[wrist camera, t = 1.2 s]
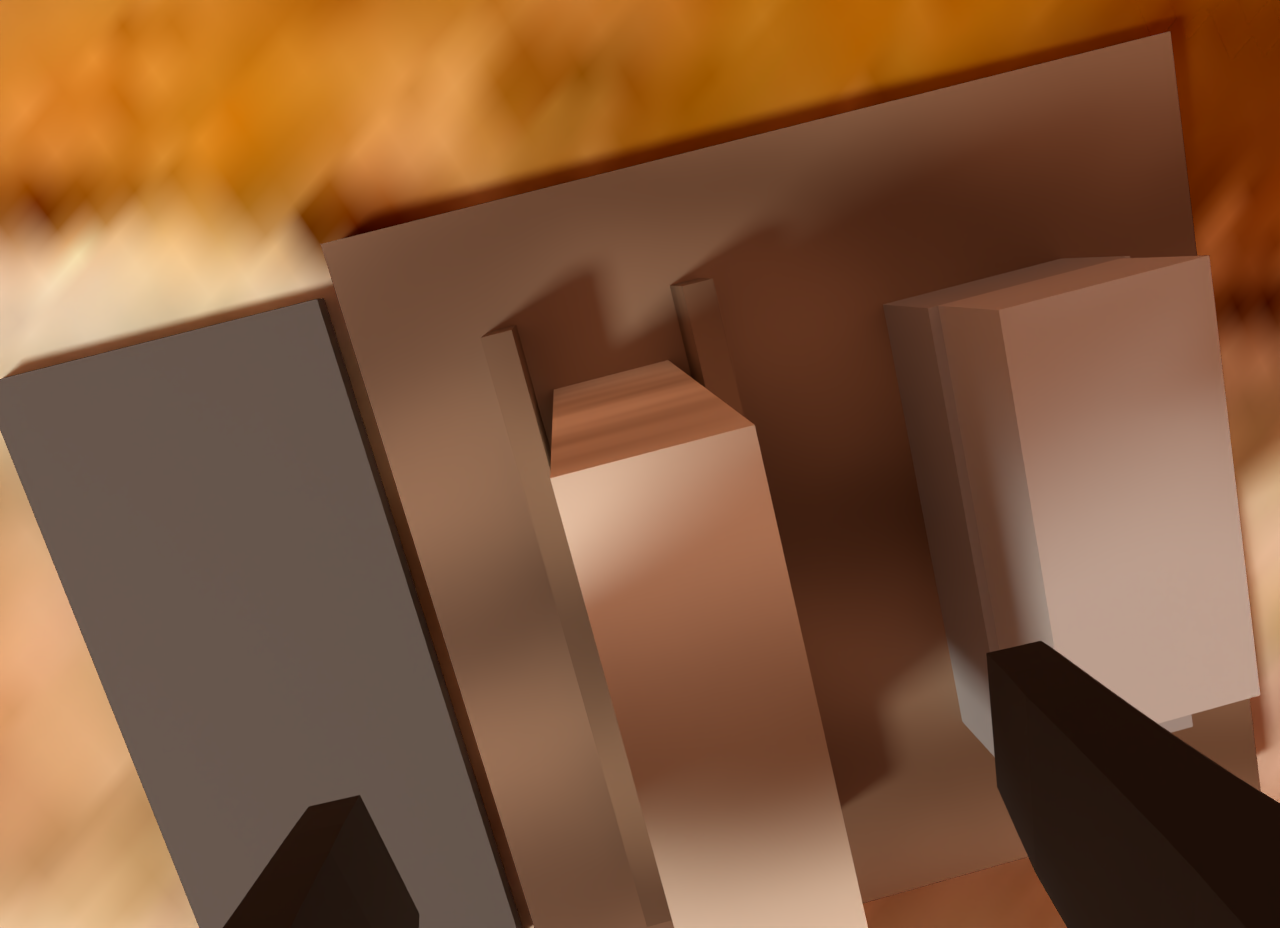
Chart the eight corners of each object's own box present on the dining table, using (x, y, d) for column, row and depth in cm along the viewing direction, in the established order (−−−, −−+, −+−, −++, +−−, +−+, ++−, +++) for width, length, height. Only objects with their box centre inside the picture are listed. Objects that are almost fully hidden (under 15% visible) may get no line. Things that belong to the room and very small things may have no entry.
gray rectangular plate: (524, 932, 23) (523, 949, 23) (247, 1009, 23) (239, 1028, 23) (323, 298, 20) (316, 299, 20) (-2, 380, 20) (-19, 383, 19)
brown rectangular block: (768, 775, 22) (907, 1105, 13) (664, 803, 22) (736, 1154, 13) (667, 360, 20) (753, 425, 11) (553, 389, 20) (549, 477, 11)
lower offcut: (1123, 677, 22) (1192, 726, 20) (962, 721, 22) (1012, 776, 20) (1060, 258, 20) (1130, 256, 18) (882, 304, 20) (927, 307, 18)
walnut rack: (1232, 771, 24) (1324, 838, 21) (553, 960, 24) (553, 1057, 21) (1141, 43, 21) (1238, 3, 18) (332, 245, 20) (293, 240, 17)
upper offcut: (1172, 642, 20) (1260, 695, 17) (1006, 688, 19) (1070, 748, 17) (1119, 258, 18) (1208, 255, 15) (937, 305, 18) (999, 310, 15)
